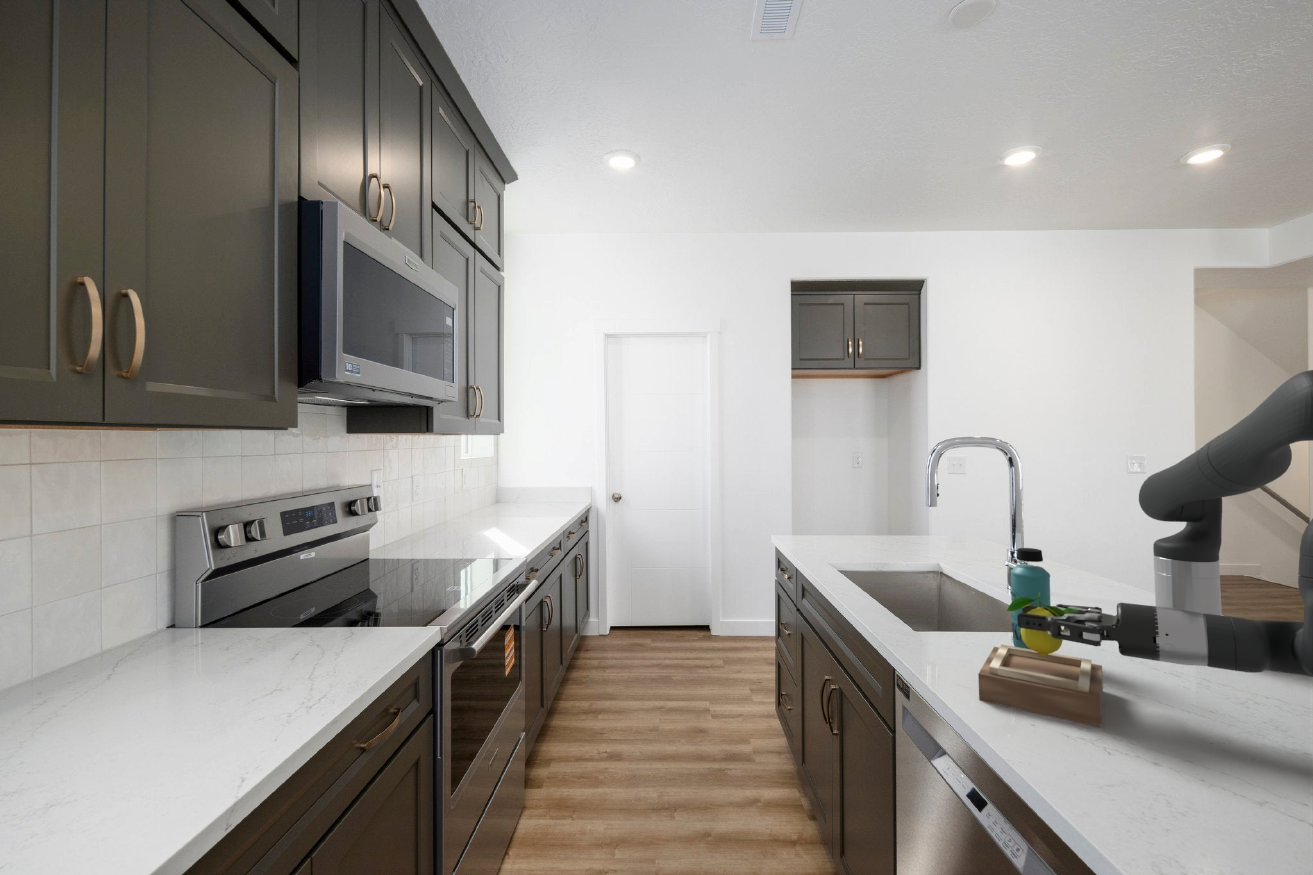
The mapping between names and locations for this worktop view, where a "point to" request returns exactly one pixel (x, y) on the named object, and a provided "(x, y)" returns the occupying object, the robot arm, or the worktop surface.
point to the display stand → (1043, 684)
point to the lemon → (1036, 638)
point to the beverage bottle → (1028, 586)
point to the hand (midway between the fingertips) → (1020, 615)
